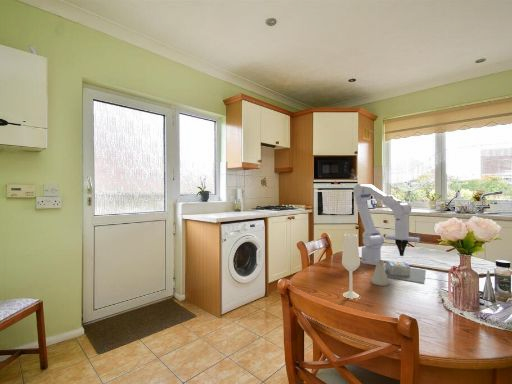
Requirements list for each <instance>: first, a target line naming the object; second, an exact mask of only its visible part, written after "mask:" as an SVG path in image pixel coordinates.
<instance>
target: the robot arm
mask: <svg viewBox="0 0 512 384" xmlns="http://www.w3.org/2000/svg"><path fill="white" fill-rule="evenodd" d="M352 191H353V195H354V199H355V200H354V201H355V204H356V207H357V210H358V213H359V217H360V219H361V223H362V226H363V229H364V232H363V233H362V235H361V236H362V243H363V244H364V245H363V246H362V248H361V261H360V264H366V265H371V266H372V265H373V266H376V261H375V260H382V258H381V257H382V255H381V252H382V247H383V244H384V243H385V240H391V241H395V245H396V247H397V249H398V252H399V256H400V257H404V256H405V250H406V248H407V245H408V243H409V242H411V243H420V237H415V236H410V235H409V233H410V232H409V223H410V222H409V216H410V214H411V212H412V206H411V205H410V203H409V202H402V200H400V199H398V198H396V197H395V196H394V195H393V194H388V195H387V194H385V193H384V192H383V191H381V190H380V189H378V188H377V187H376V186H375V185H373V184H371V183H366V184H365V183H364V184H363V183H362V184H361V183H356V184H355V186H354V187H353V189H352ZM371 196H373V197H375V198H377V199H378V200H380V201H382V205H384V206H385V207H387V208H388V209H390V210H391V211H392V213H393V214H394V215H393V216H394V232H395V233H394V235H393V234H386V235H384V236H383V235H382V234H381V232H380V230H379V229H377V228H376V227H375V223H374V220H373V218H372V214H371V211H370V209H369V207H368V203H367V201H368V200H369V199H370V197H371Z"/></svg>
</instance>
